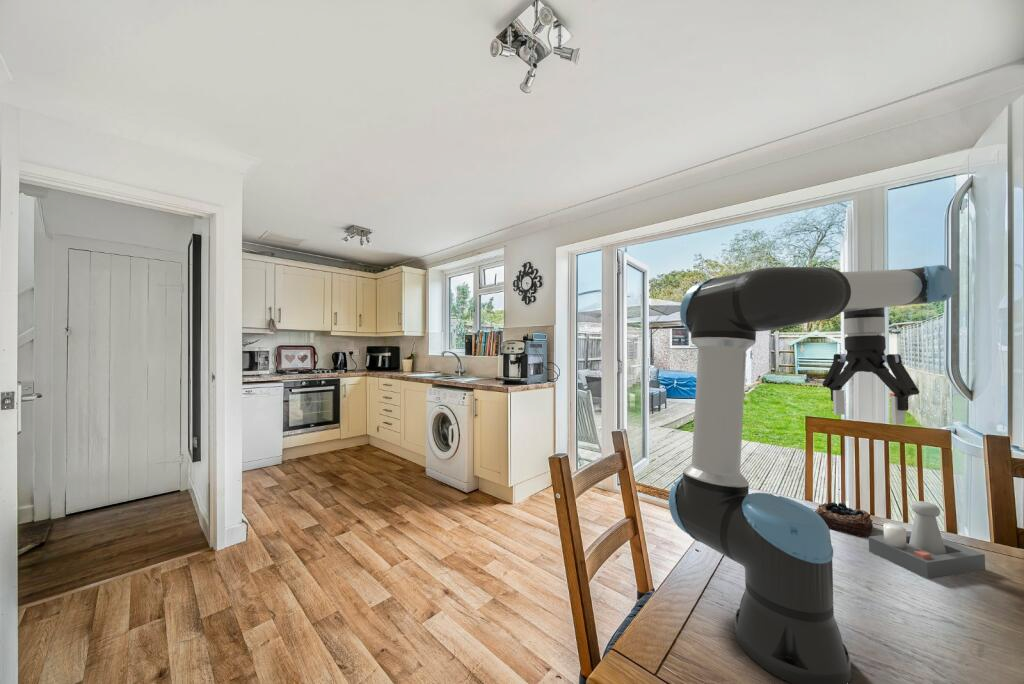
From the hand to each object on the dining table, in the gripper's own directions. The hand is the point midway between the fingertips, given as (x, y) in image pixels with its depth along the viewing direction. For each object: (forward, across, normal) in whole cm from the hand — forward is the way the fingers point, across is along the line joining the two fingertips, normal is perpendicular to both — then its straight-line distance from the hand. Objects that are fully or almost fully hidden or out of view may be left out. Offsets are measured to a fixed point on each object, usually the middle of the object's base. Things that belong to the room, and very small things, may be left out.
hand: (866, 419), depth 93 cm
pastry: (+31, +9, -3) cm, 33 cm away
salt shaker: (+31, -8, -5) cm, 33 cm away
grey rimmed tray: (+31, -8, -4) cm, 32 cm away
